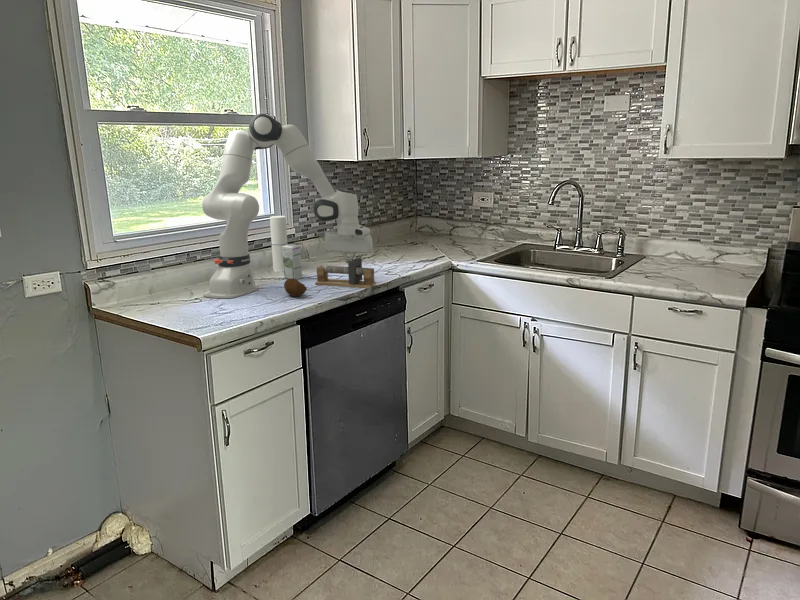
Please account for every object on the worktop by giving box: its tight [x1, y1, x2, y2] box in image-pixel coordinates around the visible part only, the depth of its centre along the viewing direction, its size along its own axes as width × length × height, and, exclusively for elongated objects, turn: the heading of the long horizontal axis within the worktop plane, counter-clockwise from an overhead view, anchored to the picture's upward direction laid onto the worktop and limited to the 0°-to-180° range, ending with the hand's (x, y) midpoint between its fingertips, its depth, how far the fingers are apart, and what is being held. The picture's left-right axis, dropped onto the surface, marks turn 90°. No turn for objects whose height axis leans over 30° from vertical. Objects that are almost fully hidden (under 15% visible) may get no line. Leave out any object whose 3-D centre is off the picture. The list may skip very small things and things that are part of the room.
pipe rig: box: [315, 265, 377, 289], centre depth 253 cm, size 8×24×8 cm, turn 72°
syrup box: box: [282, 244, 303, 280], centre depth 265 cm, size 6×6×14 cm
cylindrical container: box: [269, 215, 288, 273], centre depth 279 cm, size 7×7×25 cm
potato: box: [283, 278, 307, 298], centre depth 236 cm, size 7×12×7 cm, turn 53°
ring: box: [347, 257, 363, 284], centre depth 251 cm, size 9×2×9 cm, turn 162°
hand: (349, 262), depth 251 cm, fingers closed
